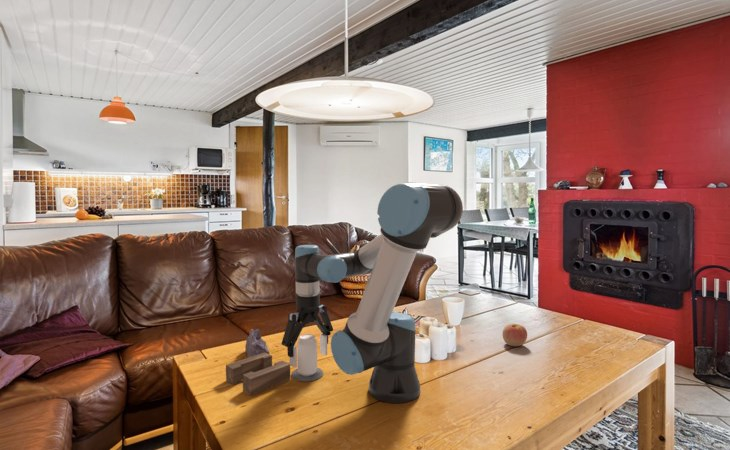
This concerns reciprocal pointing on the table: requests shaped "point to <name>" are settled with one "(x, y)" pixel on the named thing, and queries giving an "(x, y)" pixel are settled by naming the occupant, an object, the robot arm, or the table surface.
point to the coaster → (307, 378)
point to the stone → (255, 344)
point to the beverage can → (307, 355)
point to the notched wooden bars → (257, 373)
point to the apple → (514, 334)
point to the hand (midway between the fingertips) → (309, 359)
